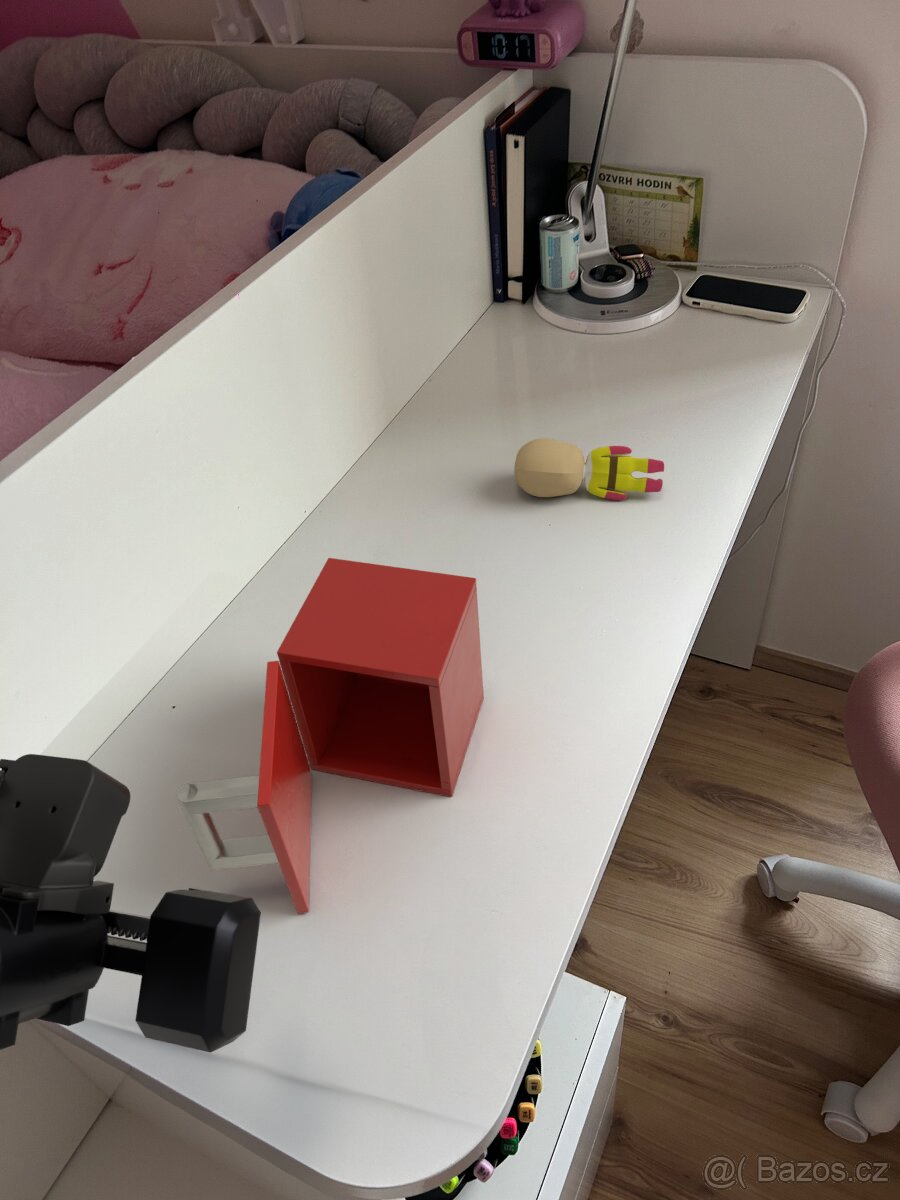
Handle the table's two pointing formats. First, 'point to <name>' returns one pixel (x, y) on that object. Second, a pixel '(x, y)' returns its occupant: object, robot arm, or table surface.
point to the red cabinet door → (263, 800)
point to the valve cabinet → (386, 674)
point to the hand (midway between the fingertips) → (174, 917)
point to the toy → (582, 470)
